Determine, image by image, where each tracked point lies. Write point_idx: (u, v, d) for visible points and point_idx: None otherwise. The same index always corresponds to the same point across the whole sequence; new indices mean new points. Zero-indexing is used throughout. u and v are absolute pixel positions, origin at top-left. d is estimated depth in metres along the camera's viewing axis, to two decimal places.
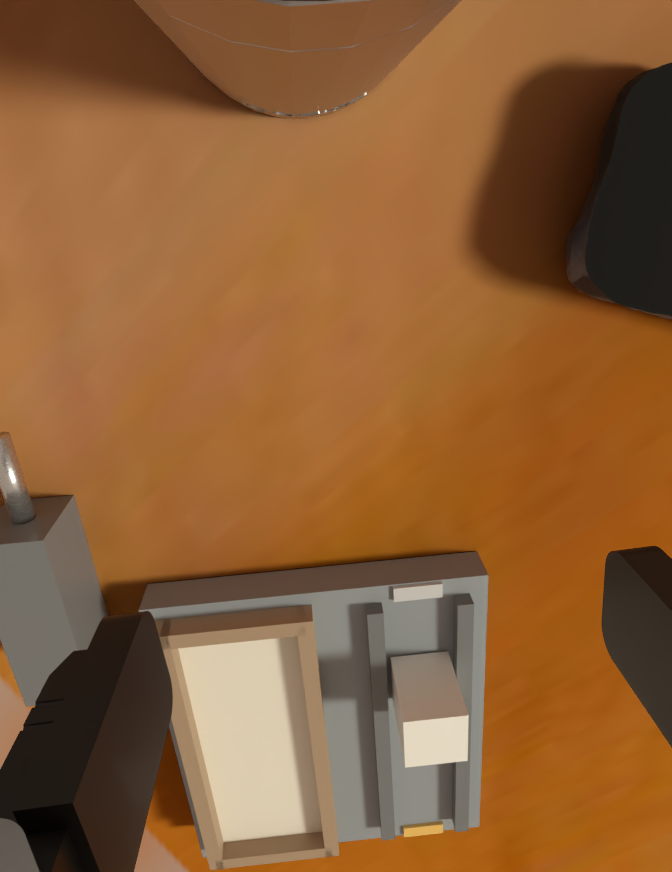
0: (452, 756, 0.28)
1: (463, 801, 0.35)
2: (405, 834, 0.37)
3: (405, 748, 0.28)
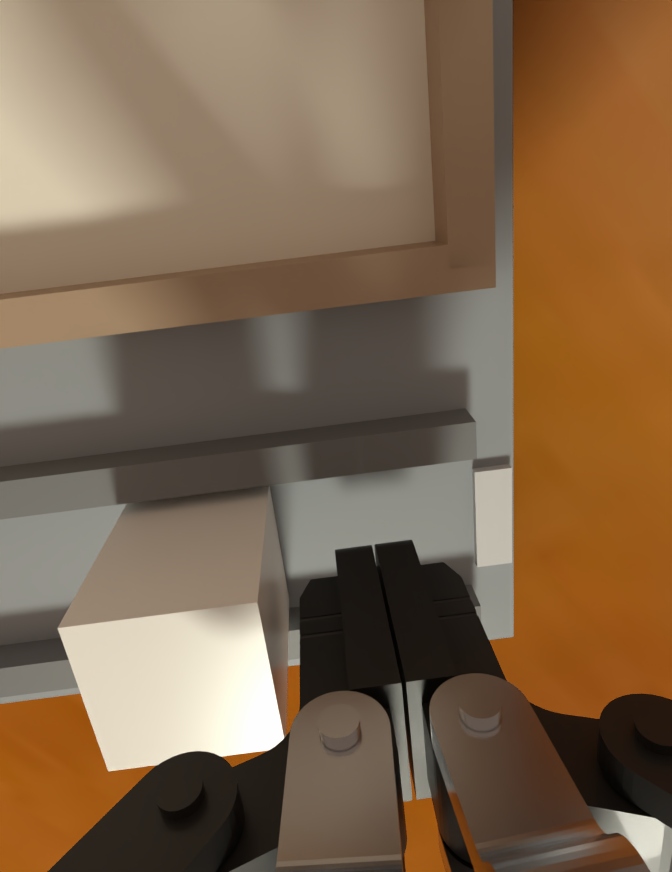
0: (121, 736, 0.10)
1: None
2: None
3: (144, 620, 0.09)
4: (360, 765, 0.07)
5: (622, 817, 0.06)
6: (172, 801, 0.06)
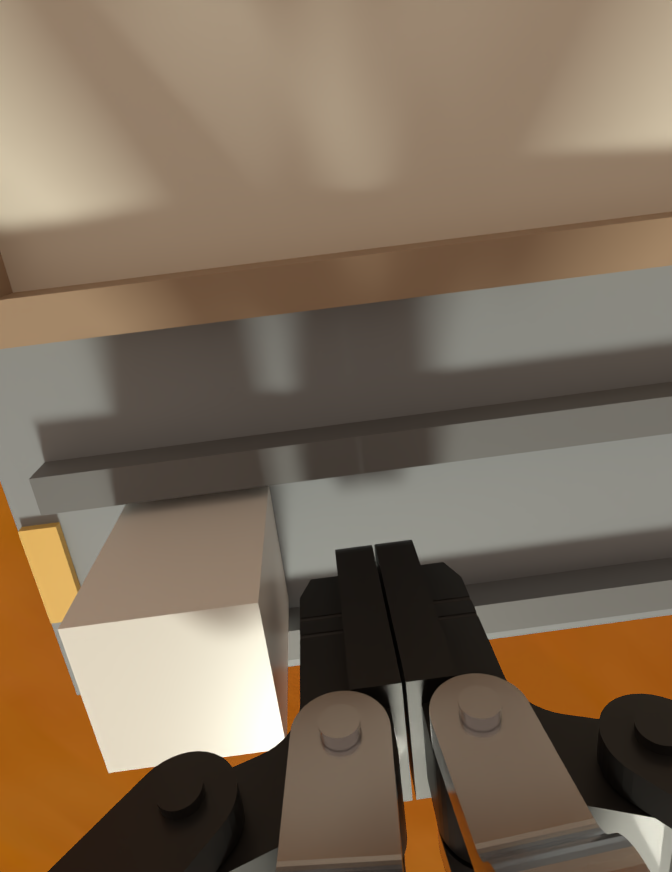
0: (122, 737, 0.10)
1: None
2: (30, 534, 0.13)
3: (145, 620, 0.09)
4: (360, 765, 0.07)
5: (622, 817, 0.06)
6: (172, 800, 0.06)
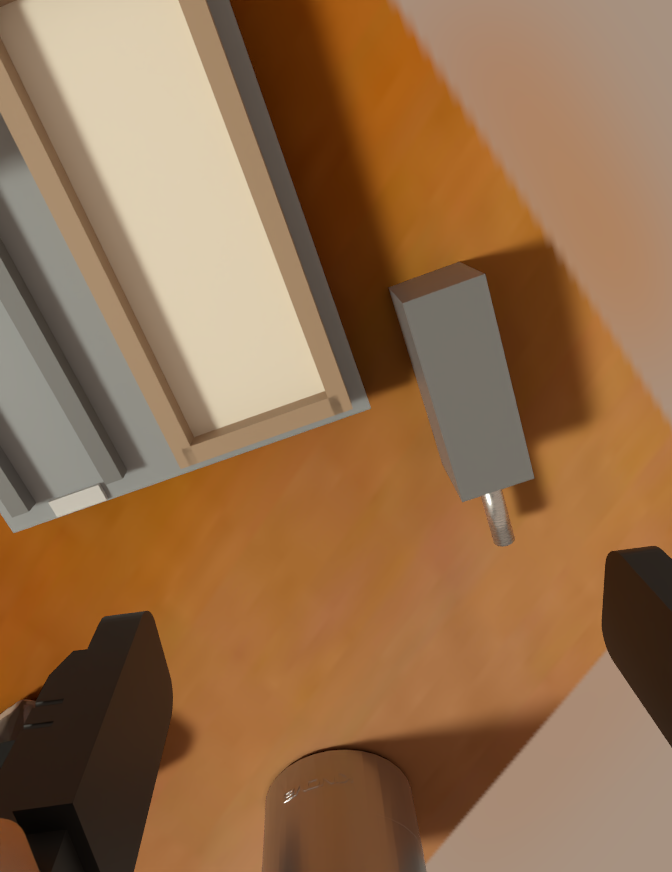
0: None
1: None
2: None
3: None
4: None
5: None
6: None
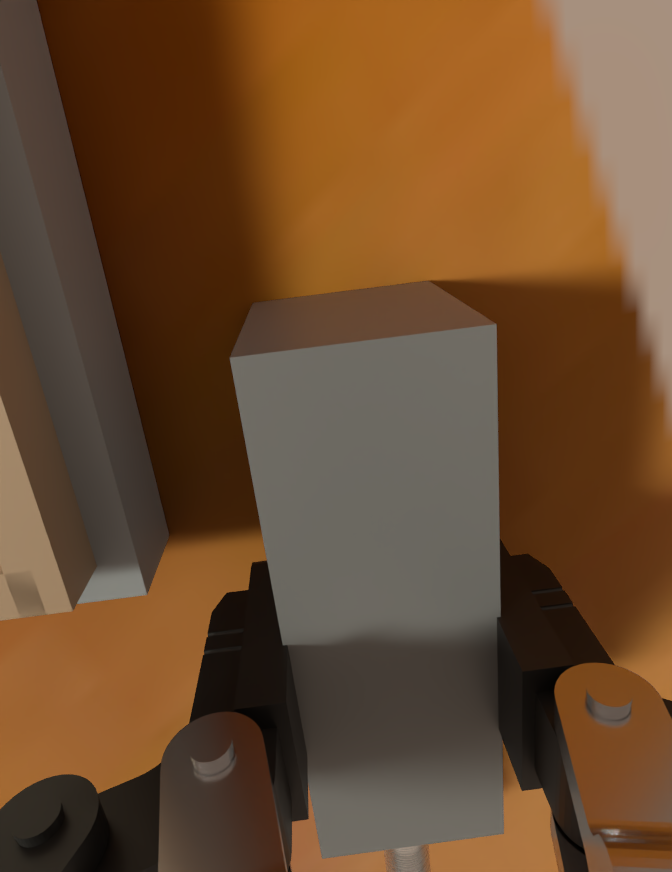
0: None
1: None
2: None
3: None
4: (224, 789, 0.07)
5: None
6: (29, 828, 0.06)
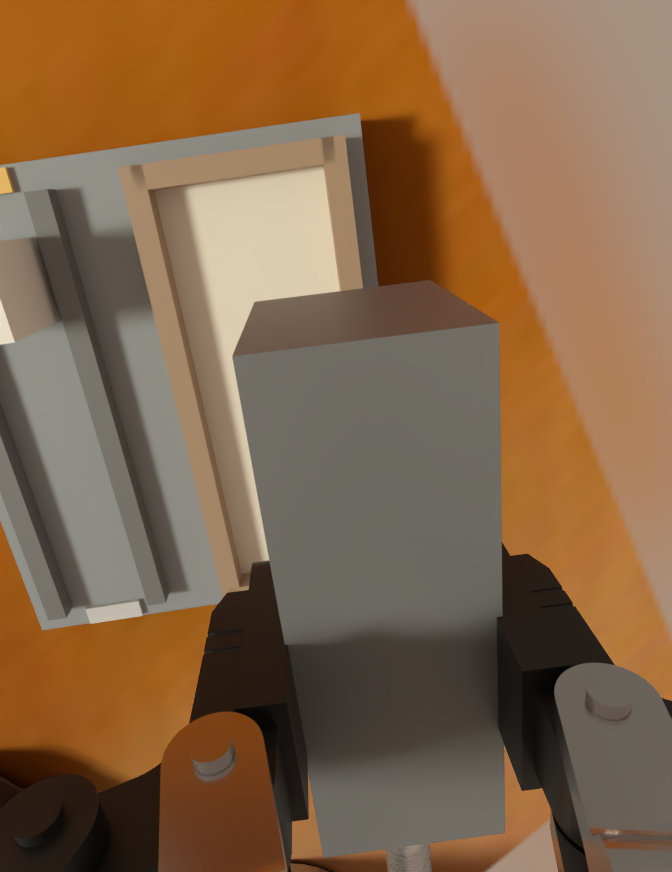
0: None
1: None
2: (4, 175, 0.21)
3: None
4: (225, 789, 0.07)
5: None
6: (29, 828, 0.06)
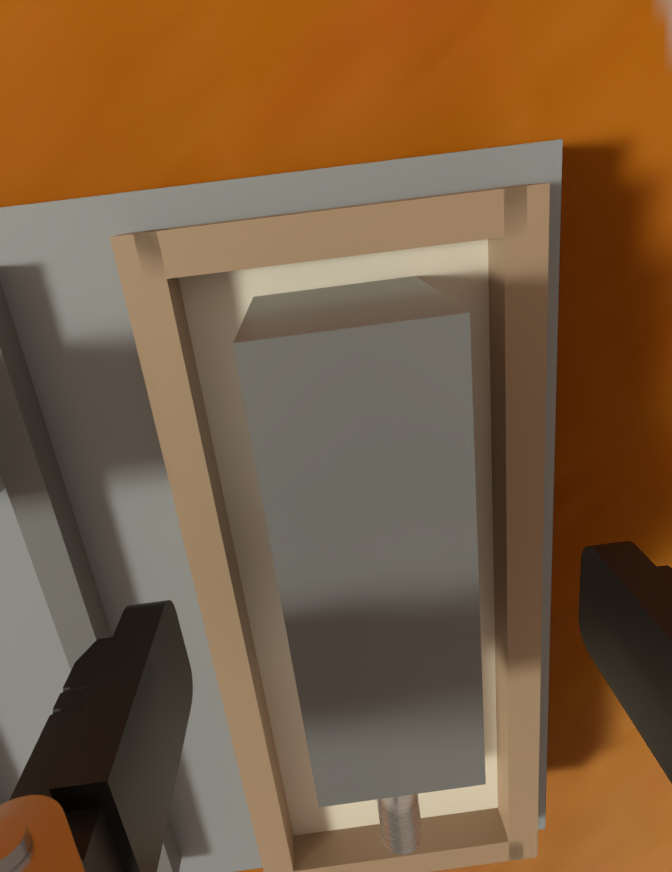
0: None
1: None
2: None
3: None
4: None
5: None
6: None
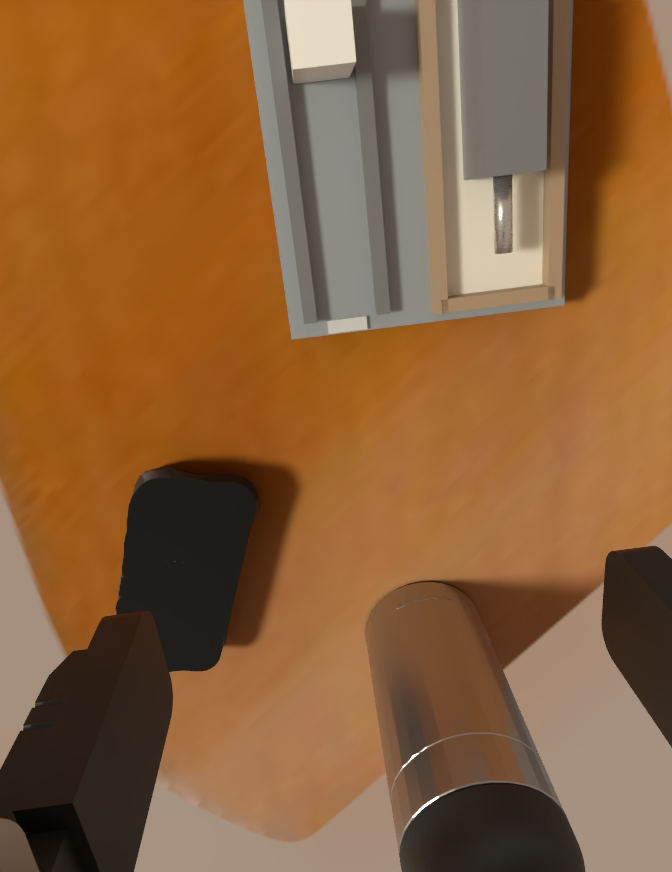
0: (300, 1, 0.27)
1: (273, 44, 0.31)
2: None
3: (351, 19, 0.28)
4: None
5: None
6: None
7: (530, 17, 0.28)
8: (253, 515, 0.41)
